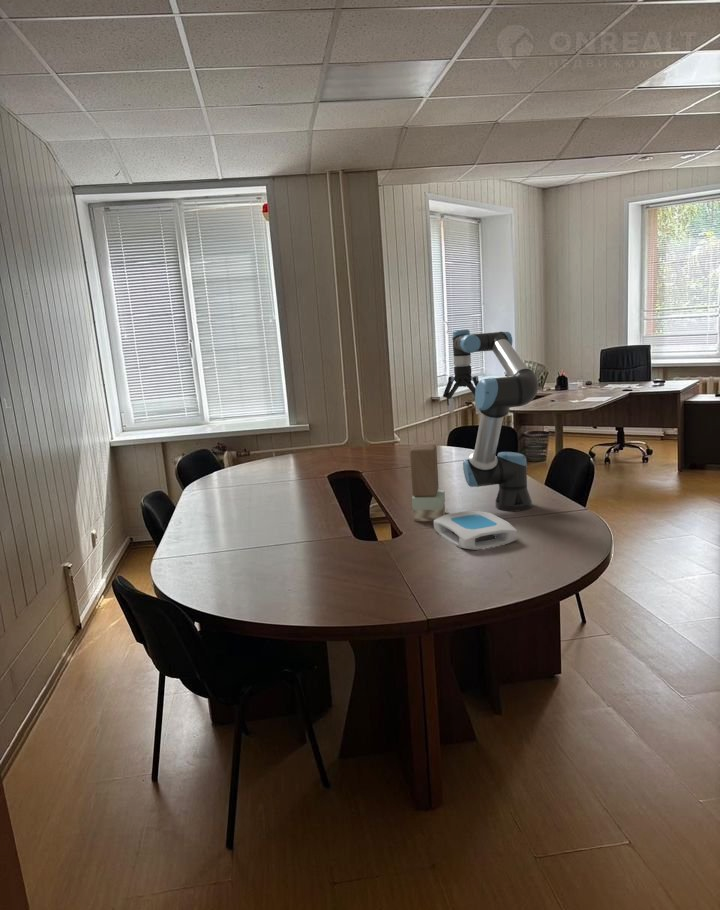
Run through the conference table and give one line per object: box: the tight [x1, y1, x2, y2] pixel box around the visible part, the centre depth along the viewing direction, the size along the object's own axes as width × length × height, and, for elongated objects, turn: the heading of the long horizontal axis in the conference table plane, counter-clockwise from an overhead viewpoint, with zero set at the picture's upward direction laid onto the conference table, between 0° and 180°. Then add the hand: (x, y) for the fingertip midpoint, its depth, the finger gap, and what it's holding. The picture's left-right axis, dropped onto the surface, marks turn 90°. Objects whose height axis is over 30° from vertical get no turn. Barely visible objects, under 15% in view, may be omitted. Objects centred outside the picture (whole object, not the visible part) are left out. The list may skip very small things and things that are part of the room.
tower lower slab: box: [412, 502, 446, 522], centre depth 278 cm, size 12×12×5 cm
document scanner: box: [433, 510, 518, 551], centre depth 248 cm, size 21×28×6 cm
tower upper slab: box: [411, 489, 446, 511], centre depth 277 cm, size 12×12×5 cm
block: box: [409, 443, 439, 497], centre depth 274 cm, size 10×10×20 cm
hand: (464, 413), depth 295 cm, fingers open, 13 cm apart
